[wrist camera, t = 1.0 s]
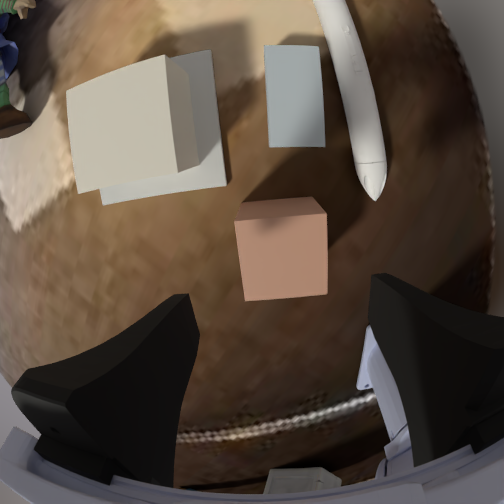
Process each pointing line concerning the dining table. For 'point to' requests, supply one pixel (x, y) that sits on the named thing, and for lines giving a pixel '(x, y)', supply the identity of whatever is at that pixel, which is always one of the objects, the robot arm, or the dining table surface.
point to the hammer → (298, 480)
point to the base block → (132, 124)
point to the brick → (294, 96)
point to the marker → (355, 94)
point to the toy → (10, 69)
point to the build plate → (206, 138)
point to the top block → (282, 248)
